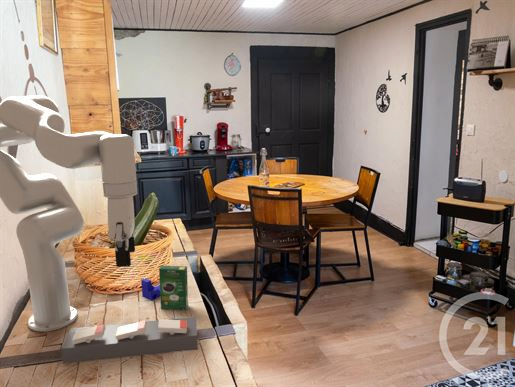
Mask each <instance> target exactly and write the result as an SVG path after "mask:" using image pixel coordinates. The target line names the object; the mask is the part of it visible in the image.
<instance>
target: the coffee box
mask: <svg viewBox="0 0 515 387" xmlns="http://www.w3.org/2000/svg"><path fill="white" fill-rule="evenodd" d="M158 274H159V285H160V297H159V298H160V309H161V310H178V311H182V310H185V311H187V310H188V307H189V293H188V288H189V287H188V266H184V265H165V264H164V265H160V267H159V269H158Z"/></svg>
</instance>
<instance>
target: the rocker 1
mask: <svg viewBox="0 0 515 387" xmlns="http://www.w3.org/2000/svg"><path fill="white" fill-rule="evenodd" d="M105 325H106V324H105V323H102V324H99V325H93V326H94V327H91V326H89V327H90V328H86V329H82V330H78V331H76V332H75V334H74V337H73V339H72V342H73V344H77V343H81V342H85V341H86V342H87V343H90V342H91V340H93V339H97V338H101V337H103V335H104V332H105V329H106V327H105Z"/></svg>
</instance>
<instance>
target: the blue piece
mask: <svg viewBox="0 0 515 387" xmlns="http://www.w3.org/2000/svg"><path fill="white" fill-rule="evenodd" d="M144 278H145V279H144ZM144 278H141V279H140V283H141V295H142V298H145V299H147V300H149V301H151V302H152V301H154V300H156V299H158V298H160V284H158V285H156V286H153V283H152V280H151V279H148V278H147V277H144Z"/></svg>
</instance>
